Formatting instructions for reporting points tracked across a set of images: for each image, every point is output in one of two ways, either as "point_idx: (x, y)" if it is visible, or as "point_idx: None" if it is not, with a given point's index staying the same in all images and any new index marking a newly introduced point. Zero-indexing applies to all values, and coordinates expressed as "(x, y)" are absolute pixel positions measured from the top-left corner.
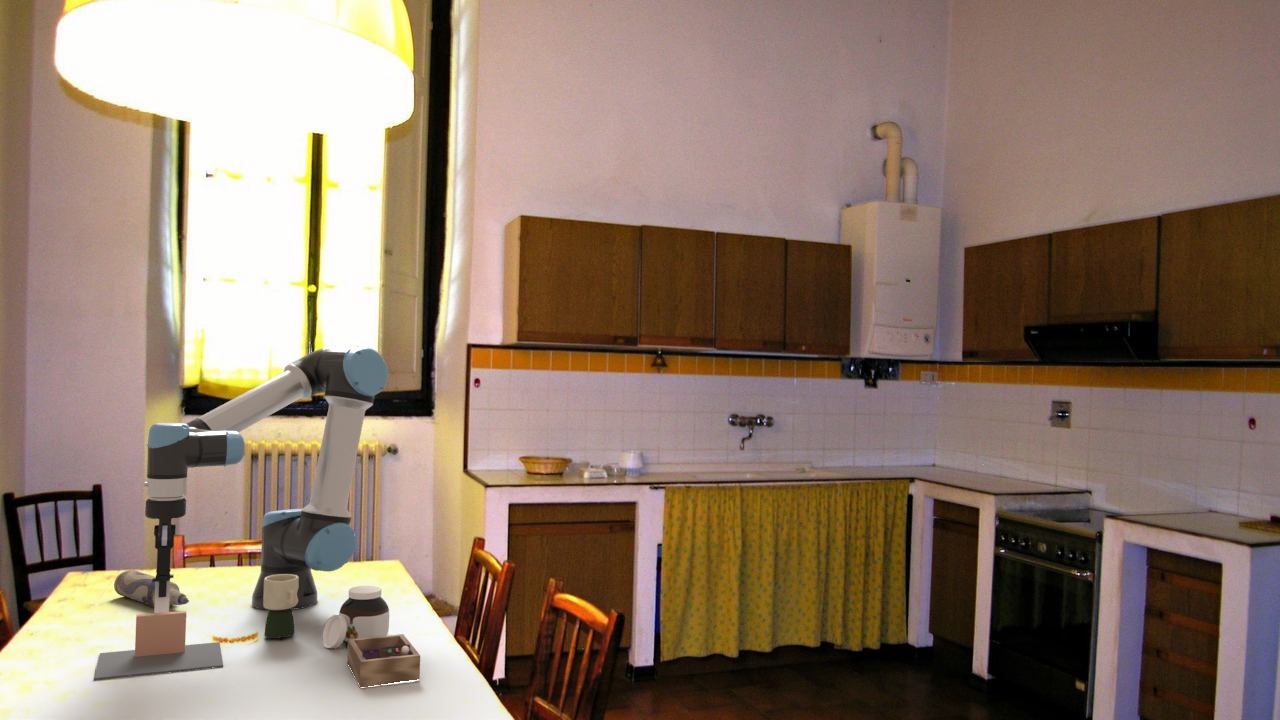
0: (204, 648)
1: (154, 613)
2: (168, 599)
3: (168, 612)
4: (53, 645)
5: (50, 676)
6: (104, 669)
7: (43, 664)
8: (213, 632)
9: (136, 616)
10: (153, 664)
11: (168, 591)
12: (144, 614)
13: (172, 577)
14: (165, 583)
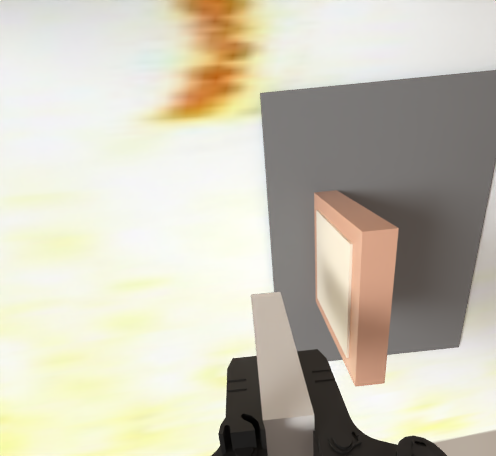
0: (319, 137)
1: (359, 338)
2: (288, 329)
3: (364, 295)
4: (183, 442)
5: (391, 408)
6: (407, 339)
7: None
8: (117, 122)
9: (381, 383)
10: (416, 253)
11: (299, 361)
12: (362, 365)
13: (257, 419)
14: (351, 422)
